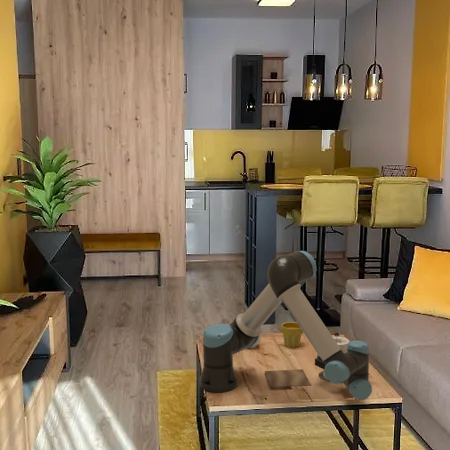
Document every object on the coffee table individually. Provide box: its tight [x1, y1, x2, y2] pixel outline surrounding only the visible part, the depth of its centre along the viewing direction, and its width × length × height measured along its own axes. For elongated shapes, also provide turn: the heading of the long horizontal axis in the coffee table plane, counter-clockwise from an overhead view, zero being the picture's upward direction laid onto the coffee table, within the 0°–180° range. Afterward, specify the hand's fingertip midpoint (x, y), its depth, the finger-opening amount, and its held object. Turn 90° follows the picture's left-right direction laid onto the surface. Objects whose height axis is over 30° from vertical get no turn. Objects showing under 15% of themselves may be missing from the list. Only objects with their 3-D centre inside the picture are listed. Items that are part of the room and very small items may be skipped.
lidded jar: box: [248, 331, 262, 349], centre depth 277 cm, size 11×11×9 cm
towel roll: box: [322, 336, 350, 379], centre depth 238 cm, size 10×10×15 cm
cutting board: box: [264, 368, 312, 391], centre depth 237 cm, size 16×16×1 cm
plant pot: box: [280, 321, 304, 348], centre depth 278 cm, size 10×10×10 cm
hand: (334, 353), depth 240 cm, fingers open, 13 cm apart
